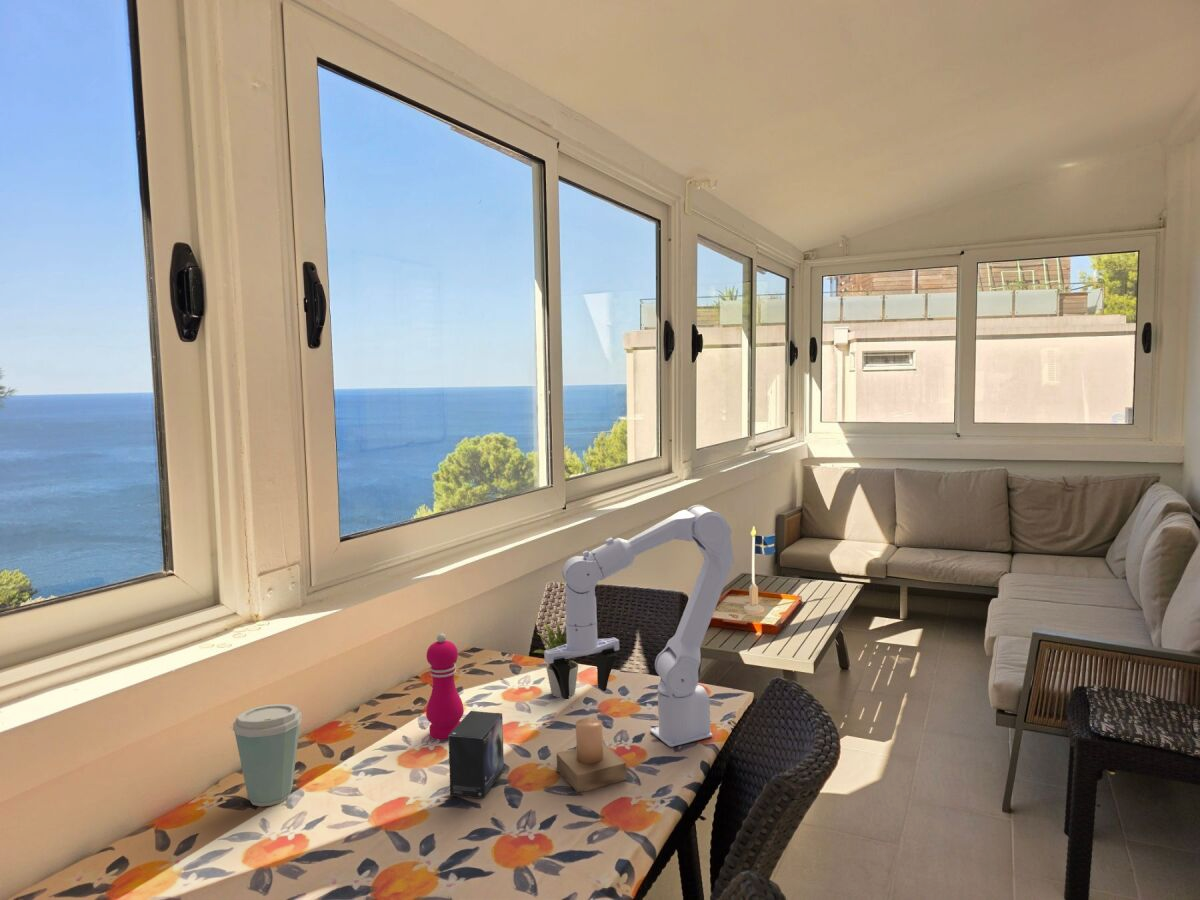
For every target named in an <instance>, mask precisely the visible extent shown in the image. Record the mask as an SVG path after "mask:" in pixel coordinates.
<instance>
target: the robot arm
mask: <svg viewBox="0 0 1200 900" xmlns="http://www.w3.org/2000/svg"><path fill="white" fill-rule="evenodd" d="M732 532H733V531H732V528H731V527H730V524H729V522H727V519H726V518H725V517H724V515H722V514H721V513H720V512H717V511H713V510H712V509H709V508H708V507H707V506H705V505H702V504H694V505H692V506H689V507H688V509H682V510H679V511H677V512H676V513H674V514H672V515H671V516H669V517H667V518H665V519H663V520H661V521H660V522H658V523H656V524H655V525H652V526H650V527H648V528H647V529H646V530H643V531H642V532H640V533H638V534H636V535H634V536H633V537H631V538H629V539H623V538H620V537H617V538H613V537H609V538H607V539H605V543H604V544H602V545H601V546H598V547H596V548H594V549H592V550H591V551H588V549H587V550H585V551H583V552H582V556H581V555H580V556H579V555H575V556H572V557H570V558H569V559H567V561H566V562H565V563H564V566H563V569H562V570H561V575H562V578H563V579H564V581H565V582H566V584H565V591H564V592H565V599H564V601H565V603H564V604H565V630H566V635H567V644H564V645H561V646H559V647H556V648H553V649H550V650H546V649H545V650H544V654H543V655H544V661H545V662H546V663H547V664H549V665H550V666H551V668H552V670H553V672H554V674H555V676H556V679H557V682H558V685H559V688H560V692H561V696H562V697H563V698H562V699H564V700H569V699H570V697H569V674H570V668H571V667H570V666H569V665H567V661H565V659H569V658H572V659H574V658H575V657H576V658H579V657H583V656H586V655H587V656H589V655H594V657H595V662H596V671H597V672H596V673H597V675H596V676H597V677H596V678H597V689H599V690H601V692H606V691H607V687H608V682H609V678H610V676H611V673H612V672H611V671H612V669H613V667H614V665H615V663H616V661H617V660H618V653H617V652H615V651H620V639H618V638H616V637H609V638H598V618H597V617H598V616H597V614H598V613H597V597H596V591H595V590H596V586H597V585H598V582H599V581H603V580H605V579H607V578H609V577H611V576H613V575H615V574H617V573H619V572H621V571H623V570H625V569H628V568H629V567H631V566H632V565H633V563H634V560H635V559H636V558H635V557H637V556H639V555H641V554H643V553H646V552H648V551H650V550H652V549H655V548H656V547H659V546H661V545H664V544H666V543H668V542H670V541H672V540H680V541H685V542H695V543H696V545H697V548H698V550H699V551H700V553H701V554H702V555H701V556H702V557H703V561H702V564H701V567H700V570H699V572H698V575H697V577H696V580H695V582H694V585H693V588H692V590H691V592H690V595H689V598H688V601H687V603H686V606H685V608H684V610H683V613H682V616H681V618H680V621H679V624H678V625H677V629H676V631H675V634H674V635H673V636H672V637H671V638H669V639H668V640H667V643H666V645H665V647H664V648H663V649H662V651H660V652H659V653H658V654H657V655H656V657H655V660H654V668H655V672H656V674H657V675H658V676H659V677H660V679H659V680H660V681H659V682H658V685H657V713H658V714H657V715H658V716H657V717H658V726H656V727H651V728H650V729H649V731H650V733H652V734H653V735H654V736H655V737H657V738H658V739H660V740H661V741H662V743H664V744H666V745H667V746H668V747H671V748H673V747H675V746H680V745H684V744H688V743H692V742H696V741H700V740H703V739H708V738H711V737H713V733H712V732H711V703H710V698H709V695H708V692H707V690H706V689H705V688H704V686H703V685H701V684H699V668H700V666H701V661H702V660H701V658H702V657H701V646H702V644H703V641H704V639H705V636H706V633H707V632H708V631H707V630H708V628H709V627H710V626H709V625H710V623H711V620H712V618H713V616H714V613H715V610H716V608H717V605H718V604H719V600H720V597H721V595H722V593H723V590H724V587H725V585H726V582H727V580H728V577H729V574H730V572H731V569H732V567H733V564H734V559H735V558H734V557H735V556H734V552H733V545H732Z"/></svg>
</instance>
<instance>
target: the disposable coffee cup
mask: <svg viewBox="0 0 1200 900" xmlns="http://www.w3.org/2000/svg"><path fill="white" fill-rule="evenodd" d="M302 714H303V713H302V712H301V711H300V710H299V708H298V707H297V706H295V705H293V704H289V703H288V704H287V703H286V704H285V703H275V704H274V703H272V704H271V703H270V704H265V705H261V706H256V707H252V708H249V709H247V710H245V711H243V712H241V713H240V714H239V715H238V716H237V717H236V718H235V719H236V720H235V721H234V722H233V723H232V730H233V732H234V736H235V741H236V746H237V750H238V756H239V760H240V766H241V770H242V774H243V781H244V784H245V790H246V794H247V798H248V799H249V802H250V803H251V804H252V805H253V806H256V807H257V806H258V807H270V806H271V807H272V806H274V805H278V804H281V803H282V802H284V801H285V800H287V799H289V797H290V795H291V791H292V789H293V785H294V776H295V769H296V767H295V766H296V760H297V759H296V758H297V752H298V751H297V750H298V745H299V744H298V743H299V736H300V727H301V723H302V721H303V716H302Z"/></svg>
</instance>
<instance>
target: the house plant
mask: <svg viewBox="0 0 1200 900" xmlns="http://www.w3.org/2000/svg"><path fill="white" fill-rule="evenodd" d="M543 625H544V627H545V630H546V632H547V637H548V639H547V638H546V637H545V636H543V634H541V633H539V632H536V631H535V633H536V634H537V635H538V636H540V638H541V640H543V641H544V642H545V644H547V647H546V648H545V650H550V649H553V648H556V647H559V646H561V645H564V644H567V635H566V629H565V631H564V633H562V630H561V628H560V625H559V623H558V620H555V625H556V630H557V631H553V630H552V628H551V627H550V626H549V625H548V623H545V622H543ZM562 634H563V635H562ZM545 650H544V649H540V648H538V649H536V650H533V653H538V654H543V655H544V651H545ZM585 656H586V657H588V655H585ZM575 659H577V657H574V658H569V659H565V661H567V665H569V666H570V667H571V668H570V674H569V696H570V695H573V694H574V693H576V687H577V680H578V671H579V663H577V662H576V661H574V660H575ZM545 669H546V672H547V677H548V684H549V687H550V688H549V689H550V692H551V695H552V694H553V695H554V696H556V697H555V698H558V697H562V696H561V692H560V688H559V685H558V682H557V679H556V676H555V674H554V672H553V670H552V668H551V666H550V665H549V664H548V663H547V664H546V667H545ZM553 695H552V696H553ZM574 695H575V694H574ZM574 695H573V696H574ZM554 696H553V697H554ZM570 697H571V696H570Z"/></svg>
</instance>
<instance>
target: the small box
mask: <svg viewBox="0 0 1200 900" xmlns="http://www.w3.org/2000/svg"><path fill="white" fill-rule="evenodd" d="M460 721H461V722H460V723H459V724H458V725H457V726H456V728H455V729H454V730H453V731H452V732H451V733H450V734H449V735H448V738H449V739H448V762H449V763H448V764H449V765H448V767H449V796H452V797H464V798H475V799H485V797H486V796H487V794H488V793H489V792H490V790H491V788H492V787H493V786H494V784H495V783H496V781H497V780H498V779H499V777H500V776H501V774H502V773H503V772H504V770H505V761H504V760H505V758H504V755H505V754H504V731H503V729H504V727H503V725H504V724H503V723H504V722H503V713H499V712H486V711H479V710H470V711H469V712H468V713H467V714H466V716H465V717H463V719H462V720H460Z"/></svg>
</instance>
